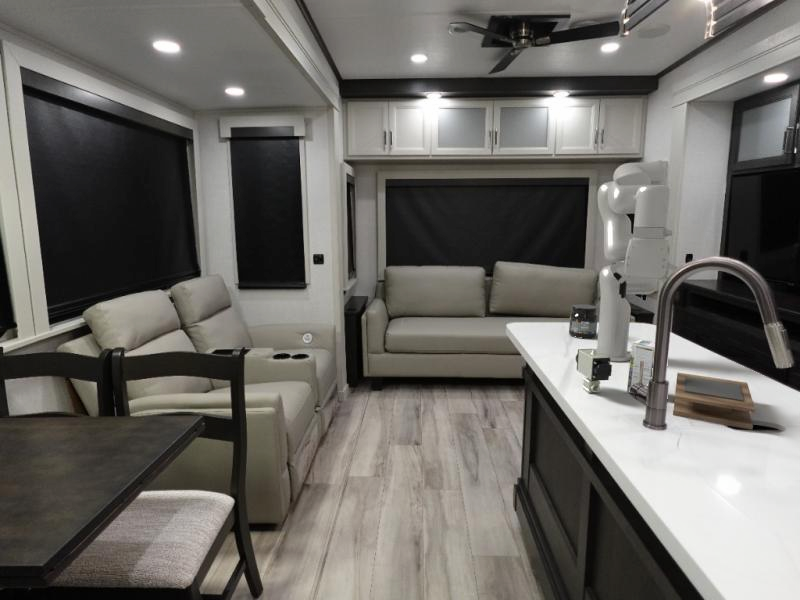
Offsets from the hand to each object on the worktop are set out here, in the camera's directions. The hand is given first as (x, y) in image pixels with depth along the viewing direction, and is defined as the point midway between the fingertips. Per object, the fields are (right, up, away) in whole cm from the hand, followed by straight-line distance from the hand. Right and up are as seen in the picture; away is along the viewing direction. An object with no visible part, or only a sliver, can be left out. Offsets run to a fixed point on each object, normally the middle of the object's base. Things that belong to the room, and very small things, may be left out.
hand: (643, 299), depth 128 cm
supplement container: (+9, -15, +66) cm, 68 cm away
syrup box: (+2, -26, +6) cm, 27 cm away
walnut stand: (+15, -28, -4) cm, 32 cm away
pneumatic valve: (-11, -26, +7) cm, 29 cm away
